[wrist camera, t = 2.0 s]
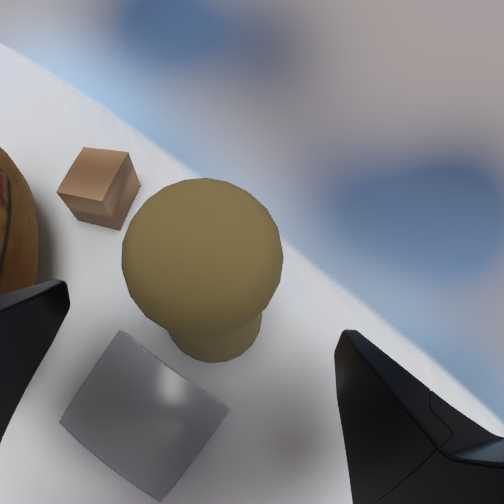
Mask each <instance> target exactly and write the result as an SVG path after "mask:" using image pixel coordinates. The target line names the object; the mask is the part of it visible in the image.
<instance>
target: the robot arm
mask: <svg viewBox="0 0 504 504" xmlns="http://www.w3.org/2000/svg"><path fill="white" fill-rule="evenodd" d="M69 308H70V299H69V293H68V287H67V284H66V282H65V281H62V280H58V279H54V280H50V281H47V282H43V283H40V284H36V285H33V286H29V287H26V288H22V289H19V290H16V291H12V292H9V293H6V294H2V295H0V443H1V440H2V437H3V435H4V433H5V431H6V429H7V426H8V424H9V422H10V420H11V418H12V416H13V414H14V412H15V410H16V407H17V405H18V403H19V401H20V400H21V398H22V396H23V394H24V392H25V390H26V388H27V386H28V384H29V382H30V381H31V379H32V377H33V375H34V373H35V372H36V370H37V368H38V366H39V365H40V363H41V361H42V359H43V358H44V356H45V354H46V353H47V351H48V349H49V348H50V346H51V344H52V342H53V340H54V338H55V336H56V334H57V332H58V330H59V328H60V326H61V324H62V322H63V320H64V318H65V316H66V314H67V313H68V311H69ZM334 361H335V375H336V392H337V401H338V407H339V413H340V418H341V424H342V430H343V436H344V443H345V449H346V456H347V463H348V470H349V477H350V485H351V493H352V501H353V504H504V437H499V436H496V435H494V434H492V433H490V432H489V431H487V430H486V429H484V428H483V427H481V426H480V425H478V424H477V423H475V422H474V421H472V420H471V419H469V418H468V417H466V416H465V415H463V414H462V413H461V412H459V411H458V410H456V409H455V408H453V407H452V406H451V405H449V404H448V403H447V402H445V401H444V400H443V399H442V398H440V397H439V396H438V395H437V394H435V393H434V392H433V391H430V389H429V388H428V387H427V386H425V385H424V384H423V383H422V382H420V381H419V380H418V379H417V378H415V377H414V376H413V375H412V374H410V373H409V372H408V371H407V370H405V369H404V368H403V367H402V366H400V365H399V364H398V363H397V362H395V361H394V360H393V359H392V358H390V357H389V356H388V355H387V354H385V353H384V352H383V351H382V350H380V349H379V348H378V347H377V346H375V345H374V344H373V343H372V342H370V341H369V340H368V339H367V338H365V337H364V336H363V335H362V334H360V333H359V332H358V331H356V330H347V329H346V330H344V331H343V332H342V334H341V336H340V339H339V341H338V344H337V347H336V349H335V353H334Z"/></svg>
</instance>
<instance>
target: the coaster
mask: <svg viewBox="0 0 504 504" xmlns="http://www.w3.org/2000/svg"><path fill="white" fill-rule="evenodd" d="M229 410H230V407H229V406H227V405H225V404H224V403H222V402H220V401H219V400H217V399H216V398H214V397H212V396H211V395H209V394H208V393H206V392H205V391H203V390H202V389H200V388H199V387H197V386H196V385H194V384H193V383H191V382H190V381H188V380H187V379H185V378H184V377H182V376H181V375H180V374H178V373H177V372H175V371H174V370H172V369H171V368H170V367H168V366H167V365H166V364H164V363H163V362H161V361H160V360H159V359H157V358H156V357H155V356H153V355H152V354H151V353H150V352H148V351H147V350H146V349H144V348H143V347H142V346H141V345H139V344H138V343H137V342H136V341H134V340H133V339H132V338H131V337H129V336H128V335H127V334H126V333H124V332H123V331H121V330H119V332H118V333H117V335H116V336H115V337H114V339H113V340H112V342H111V343H110V345H109V346H108V347H107V349H106V350H105V352H104V353H103V355H102V356H101V358H100V359H99V361H98V362H97V364H96V365H95V367H94V368H93V370H92V371H91V373H90V374H89V376H88V377H87V379H86V380H85V382H84V383H83V385H82V386H81V388H80V389H79V391H78V392H77V394H76V396H75V397H74V399H73V400H72V402H71V404H70V405H69V407H68V408H67V410H66V412H65V413H64V415H63V416H62V418H61V420H60V421H59V423H60V424H61V425H62V426H63V427H64V428H65V429H66V430H67V431H68V432H69V433H70V434H71V435H73V436H74V437H75V438H76V439H77V440H78V441H79V442H80V443H81V444H82V445H83V446H85V447H86V448H87V449H88V450H89V451H90V452H92V453H93V454H94V455H95V456H96V457H98V458H99V459H100V460H101V461H102V462H104V463H105V464H106V465H107V466H109V467H110V468H111V469H113V470H114V471H115V472H117V473H118V474H119V475H121V476H122V477H123V478H125V479H126V480H127V481H129V482H130V483H132V484H133V485H135V486H136V487H138V488H139V489H141V490H142V491H144V492H145V493H147V494H148V495H150V496H151V497H153V498H155V499H156V500H158V501H159V502H161V500H162V499H163V498H164V497H165V495H166V494H167V493H168V492H169V491H170V489H171V488H172V487H173V486H174V484H175V483H176V482H177V480H178V479H179V478H180V477H181V475H182V474H183V473H184V472H185V470H186V469H187V468H188V466H189V465H190V464H191V462H192V461H193V460H194V458H195V457H196V456H197V454H198V453H199V452H200V450H201V449H202V448H203V446H204V445H205V444H206V442H207V441H208V439H209V438H210V437H211V435H212V434H213V433H214V431H215V430H216V428H217V427H218V425H219V424H220V423H221V421H222V420H223V418H224V417H225V416H226V414H227V413H228V411H229Z"/></svg>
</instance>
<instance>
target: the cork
mask: <svg viewBox="0 0 504 504" xmlns="http://www.w3.org/2000/svg"><path fill="white" fill-rule="evenodd" d="M282 264H283V252H282V246H281V241H280V236H279V231H278V227H277V226H276V224H275V222H274V221H273V219H272V217H271V215H270V214H269V212H268V210H267V209H266V208H265V207H264V206H263V205H262V204H261V203H260V202H258V200H257V199H255V198H254V197H253V196H252V195H251V194H250V193H248V192H247V191H245V190H243V189H241V188H239V187H237V186H235V185H233V184H231V183H228V182H226V181H220V180H214V179H208V178H201V179H190V180H183V181H181V182H178V183H175V184H172V185H170V186H167V187H164V188H163V189H162V190H160V191H159V192H157V193H156V194H154V195H153V196H152V197H150V198H149V199H148V200H147V201H146V202H145V203H144V204H143V206H142V207H141V208H140V209H139V211H138V212H137V213H136V214H135V216H134V217H133V219H132V220H131V222H130V224H129V227H128V229H127V232H126V235H125V237H124V240H123V243H122V270H123V274H124V278H125V281H126V284H127V287H128V290H129V293H130V296H131V298H132V299H133V300H134V302H135V303H136V304H137V306H138V307H139V308H140V309H141V311H142V312H143V313H144V315H145V316H146V317H148V318H149V319H150V320H152V321H154V322H155V323H157V324H158V325H160V326H161V327H163V328H164V329H166V330H168V331H169V334H170V336H171V338H172V340H173V341H174V343H175V344H176V345H177V346H178V347H179V348H180V350H181V351H182V352H184V353H186V354H187V355H189V356H191V357H192V358H194V359H196V360H201V361H205V362H210V363H213V362H223V361H228V360H230V359H233V358H235V357H237V356H239V355H241V354H242V353H243V352H244V351H245V350H247V349H248V348H249V347H250V346H251V345H252V344H253V342H254V340H255V338H256V336H257V335H258V333H259V330H260V325H261V319H262V311H263V310H264V309H265V308H266V307H267V305H268V303H269V302H270V300H271V298H272V296H273V294H274V292H275V290H276V288H277V287H278V285H279V283H280V278H281V271H282Z"/></svg>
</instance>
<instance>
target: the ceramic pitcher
mask: <svg viewBox="0 0 504 504" xmlns="http://www.w3.org/2000/svg"><path fill="white" fill-rule="evenodd" d="M37 270H38V220H37V214H36V208H35V203H34V199H33V196H32V193H31V191H30V188H29V186H28V184H27V181H26V180H25V178H24V177H23V175H22V174H21V172H20V171H19V169H18V168H17V166H16V165H15V164H14V162H13V161H12V159H11V158H10V157H9V156H8V154H7V153H6V152H5V151H4V150H3V149H2V148H0V295H2V294H6V293H9V292H12V291H16V290H19V289H22V288H26V287H29V286H33V285H36V278H37Z"/></svg>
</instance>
